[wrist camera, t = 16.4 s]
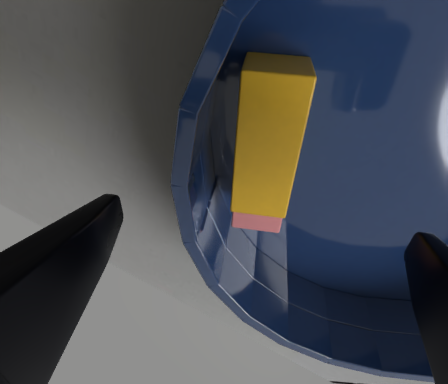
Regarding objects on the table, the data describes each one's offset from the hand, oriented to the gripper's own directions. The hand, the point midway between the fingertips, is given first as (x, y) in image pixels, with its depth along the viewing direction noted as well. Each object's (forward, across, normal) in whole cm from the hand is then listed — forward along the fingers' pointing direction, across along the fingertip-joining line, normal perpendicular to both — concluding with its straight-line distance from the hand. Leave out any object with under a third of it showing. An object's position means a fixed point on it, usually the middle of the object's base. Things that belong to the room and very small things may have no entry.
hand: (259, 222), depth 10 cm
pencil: (+5, 0, 0) cm, 5 cm away
